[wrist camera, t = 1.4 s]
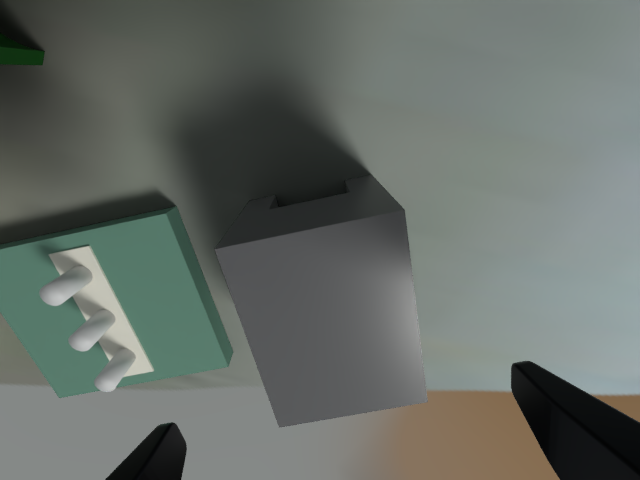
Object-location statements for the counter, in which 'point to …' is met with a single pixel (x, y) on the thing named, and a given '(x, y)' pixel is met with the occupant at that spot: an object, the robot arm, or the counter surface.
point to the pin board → (112, 304)
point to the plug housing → (327, 302)
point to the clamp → (18, 53)
